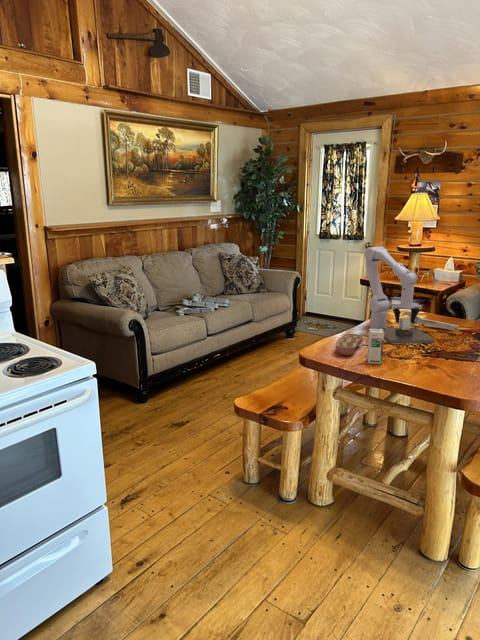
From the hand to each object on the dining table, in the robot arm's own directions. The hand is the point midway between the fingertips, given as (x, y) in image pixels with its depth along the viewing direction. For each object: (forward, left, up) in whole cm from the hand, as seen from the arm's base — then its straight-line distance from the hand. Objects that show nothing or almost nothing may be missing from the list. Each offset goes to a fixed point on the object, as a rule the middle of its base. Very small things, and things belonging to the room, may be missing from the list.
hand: (404, 322), depth 247 cm
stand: (0, 0, -7) cm, 7 cm away
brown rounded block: (+20, -34, -8) cm, 40 cm away
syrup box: (+36, -27, -7) cm, 46 cm away
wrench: (-15, +20, -8) cm, 26 cm away
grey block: (0, 0, -3) cm, 3 cm away
